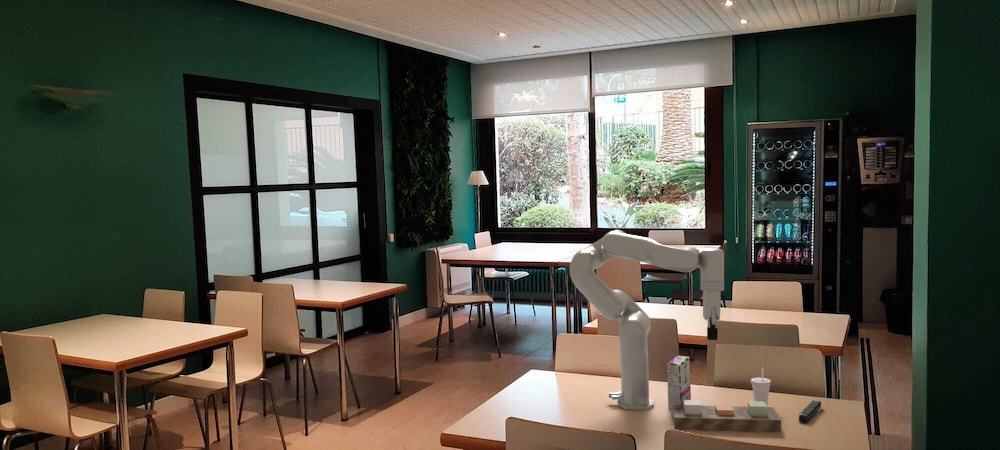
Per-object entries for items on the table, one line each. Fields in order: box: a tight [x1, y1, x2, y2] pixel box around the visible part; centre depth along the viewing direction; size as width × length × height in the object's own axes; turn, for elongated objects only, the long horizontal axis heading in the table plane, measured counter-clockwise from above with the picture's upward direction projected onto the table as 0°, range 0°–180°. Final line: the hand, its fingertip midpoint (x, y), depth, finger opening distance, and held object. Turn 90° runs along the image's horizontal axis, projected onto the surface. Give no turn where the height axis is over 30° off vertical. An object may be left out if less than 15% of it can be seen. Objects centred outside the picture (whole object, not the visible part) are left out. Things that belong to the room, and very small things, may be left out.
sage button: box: [747, 400, 768, 416], centre depth 222 cm, size 5×5×4 cm
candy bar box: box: [666, 355, 692, 411], centre depth 243 cm, size 11×5×16 cm, turn 148°
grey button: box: [684, 399, 702, 415], centre depth 226 cm, size 5×5×4 cm
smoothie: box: [750, 367, 772, 407], centre depth 238 cm, size 6×6×14 cm
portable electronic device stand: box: [798, 399, 822, 424], centre depth 229 cm, size 18×3×3 cm, turn 142°
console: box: [671, 405, 783, 434], centre depth 224 cm, size 32×12×4 cm, turn 79°
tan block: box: [715, 404, 734, 416], centre depth 224 cm, size 5×5×4 cm
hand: (712, 339), depth 235 cm, fingers closed
